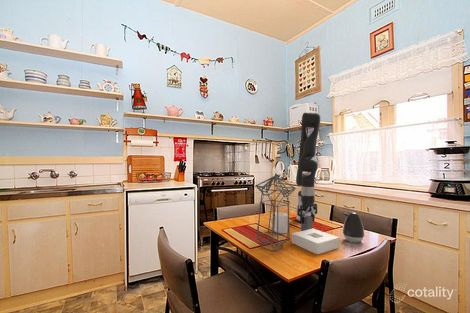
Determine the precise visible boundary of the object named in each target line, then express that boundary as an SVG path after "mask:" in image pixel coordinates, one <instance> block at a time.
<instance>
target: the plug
mask: <svg viewBox="0 0 470 313" xmlns="http://www.w3.org/2000/svg"><path fill="white" fill-rule="evenodd" d="M313 223H314V222H313V217H311V216H307V215H305V216H304V224H302V223H301V222H300V231H304V230H309V229H313Z"/></svg>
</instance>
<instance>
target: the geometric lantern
mask: <svg viewBox="0 0 470 313" xmlns="http://www.w3.org/2000/svg"><path fill="white" fill-rule="evenodd" d="M284 183H285V184H287V185H288V186H289V187H287V186H286V185H285V184H284ZM262 184H264V185H262ZM272 186H274V187H275V188H276V189H271V187H272ZM254 188H257V189H258V191H260V193H261V196H260V202H259V212H258V219H257V220H258V222H257V227H256V228H257V229H256V234H255V235H256V238H257V240H258V241H259V242H260V243H261V245H260V247H261V248H262V249H265V250H268V251H270V252H277V251H279V250H281V249H283V248H284V244H286V243H287V242H289V241H291V238H290V237H291V236H290V234H291V233H290V232H291V230H290V203H289V201H290V200H289V196H291V194H292V193H293V192H294V191H295V190H297V188H296V187H295V186H293V185H292V184H290V183H289V182H287V181H285V180H284V179H282V178H280V177H279V176H278V175H273V176H272V177H269V178H267V179H265V180H263V181H262V182H260V183H258V184H256V185H254ZM269 191H270V192H269ZM276 192H279V194H277V196H276V197H275V199H273V198H272V197H271V195H273V194H274V193H276ZM281 194H282V198H281V199H280V200H277V199H278V198H279V196H280V195H281ZM264 196H267V197H268V200H263V199H264ZM284 198H286V201H287V202H285V201H283V199H284ZM264 202H270V204H269V203H268V204H267V203H264ZM273 202H274V203H273ZM276 202H278V203H277V204H276ZM280 203H283V204H282V205H280ZM262 205H266V206H270V211H269V217H270V219H271V216H272V215H273V218H272V219H271V220H272V223H271V224H272V227H271V226H270V222H271V221H270V219H269V218H268V219H269V223H268V228H267V232H263V233H261V234H259V231H260V222H261V211H262ZM285 206H287V214H288V227H287V233H286V235H284V234H283V235H282V234H281V233H278V212H279V208H281V207H285ZM275 213H277V232H275V231H274V227H275ZM273 225H274V226H273ZM270 227H271V231H270ZM265 234H267V235H268V238H267V239H263V238H261V237H259V236H263V235H265ZM270 234H271V237H270ZM274 235H276V239H274ZM279 236H280V237H283V238H285V239H283V241H280V240H279ZM274 241H275V242H276V243H274ZM265 245H266V246H269V247H271V248H272V249H270V248H266V247H264V246H265ZM274 245H275V246H274ZM278 247H279V248H278ZM277 248H278V249H277Z"/></svg>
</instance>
